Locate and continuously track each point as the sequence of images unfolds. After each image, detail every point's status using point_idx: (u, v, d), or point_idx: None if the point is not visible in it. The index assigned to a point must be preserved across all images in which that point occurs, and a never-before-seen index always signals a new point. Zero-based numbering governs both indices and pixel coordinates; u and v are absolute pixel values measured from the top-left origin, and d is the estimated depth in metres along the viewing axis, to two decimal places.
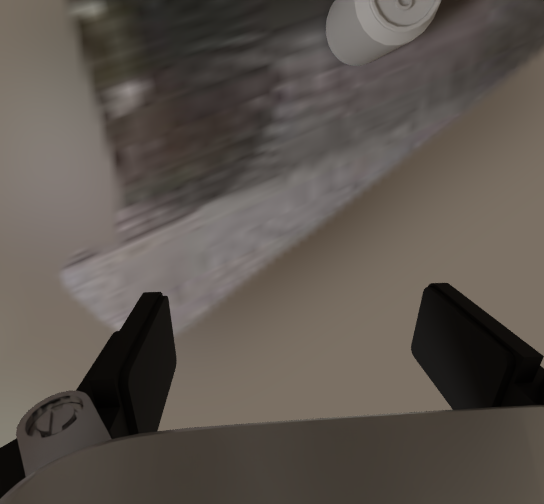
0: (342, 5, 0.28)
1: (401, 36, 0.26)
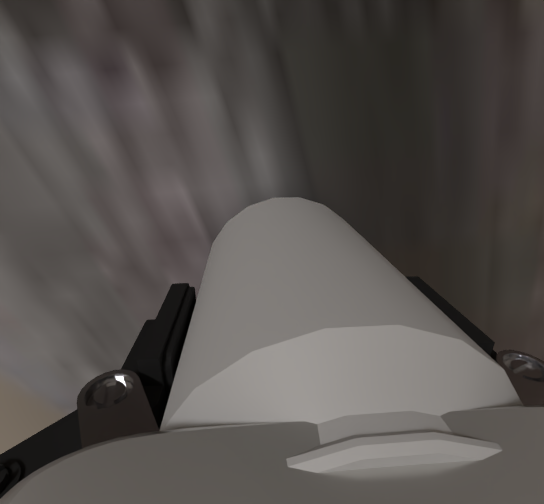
0: (314, 248, 0.08)
1: None
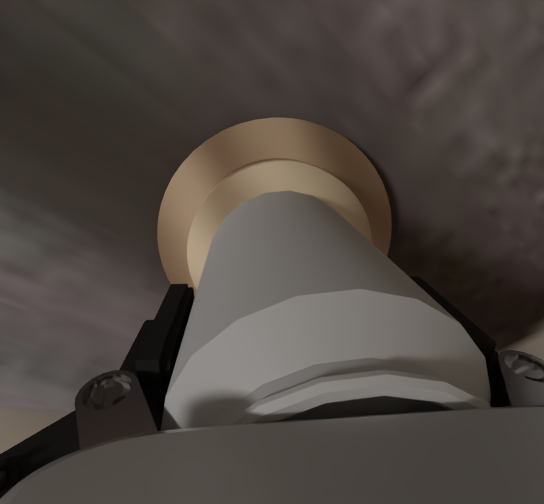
0: (223, 265, 0.09)
1: None
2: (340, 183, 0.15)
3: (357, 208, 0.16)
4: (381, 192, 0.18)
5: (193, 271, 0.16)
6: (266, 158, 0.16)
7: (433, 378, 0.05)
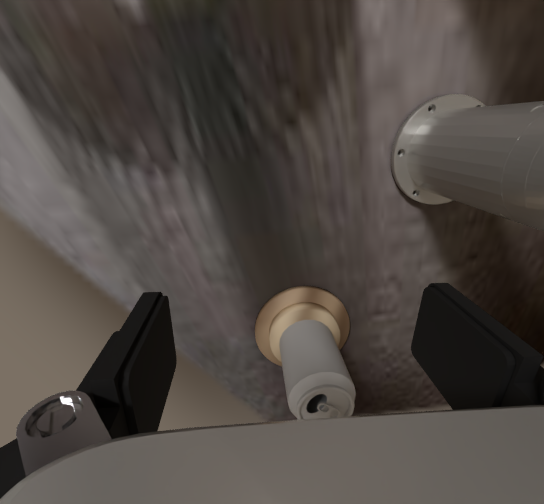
0: None
1: None
2: (339, 331, 0.43)
3: (337, 341, 0.43)
4: (345, 337, 0.46)
5: (276, 326, 0.42)
6: (323, 305, 0.43)
7: (296, 415, 0.32)
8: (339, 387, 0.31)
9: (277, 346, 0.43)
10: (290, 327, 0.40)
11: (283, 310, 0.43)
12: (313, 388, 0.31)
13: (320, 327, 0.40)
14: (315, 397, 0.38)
